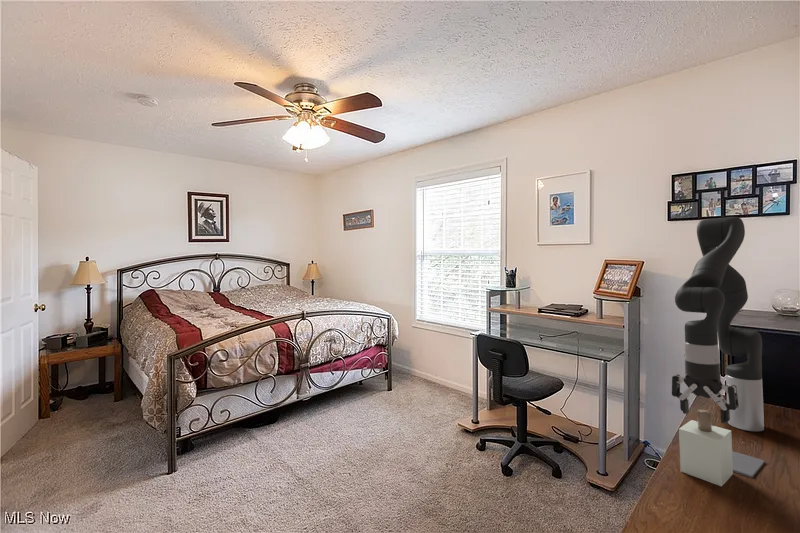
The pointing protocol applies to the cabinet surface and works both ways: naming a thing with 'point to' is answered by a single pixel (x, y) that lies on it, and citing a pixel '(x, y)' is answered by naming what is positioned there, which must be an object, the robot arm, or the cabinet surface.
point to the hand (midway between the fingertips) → (704, 417)
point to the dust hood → (706, 450)
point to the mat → (746, 464)
